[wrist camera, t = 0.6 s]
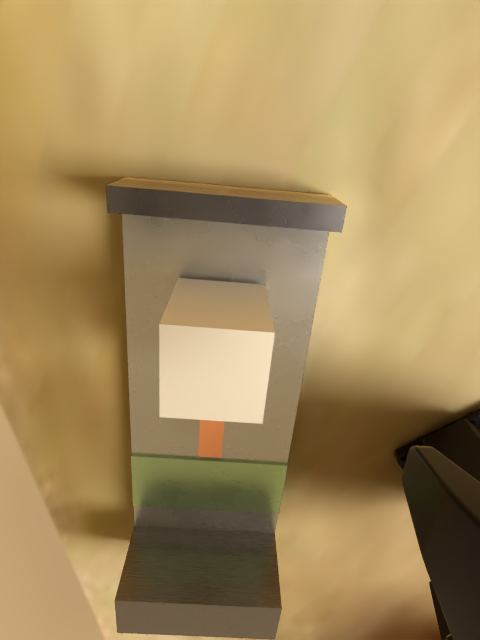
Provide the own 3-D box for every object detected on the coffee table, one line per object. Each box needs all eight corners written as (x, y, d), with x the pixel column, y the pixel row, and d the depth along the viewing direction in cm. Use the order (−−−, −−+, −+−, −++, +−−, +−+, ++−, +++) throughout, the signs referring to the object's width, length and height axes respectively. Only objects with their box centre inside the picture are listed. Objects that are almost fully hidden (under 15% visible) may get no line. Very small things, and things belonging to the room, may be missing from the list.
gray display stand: (126, 176, 17) (82, 195, 12) (330, 194, 18) (365, 219, 13) (138, 542, 28) (117, 632, 23) (268, 549, 28) (274, 639, 23)
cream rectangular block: (178, 277, 18) (159, 324, 14) (266, 284, 18) (275, 332, 14) (175, 433, 22) (159, 507, 18) (247, 437, 22) (250, 513, 18)
